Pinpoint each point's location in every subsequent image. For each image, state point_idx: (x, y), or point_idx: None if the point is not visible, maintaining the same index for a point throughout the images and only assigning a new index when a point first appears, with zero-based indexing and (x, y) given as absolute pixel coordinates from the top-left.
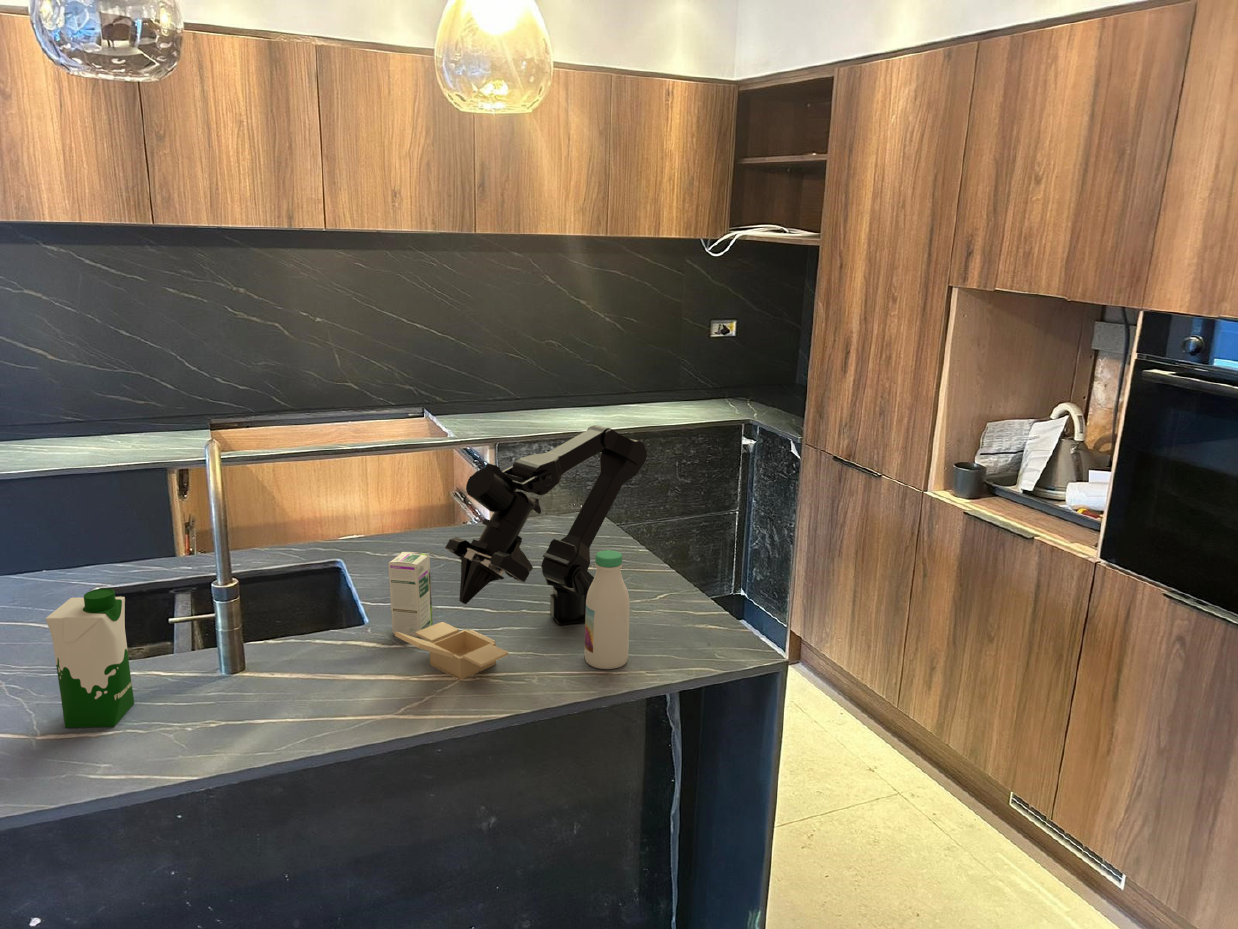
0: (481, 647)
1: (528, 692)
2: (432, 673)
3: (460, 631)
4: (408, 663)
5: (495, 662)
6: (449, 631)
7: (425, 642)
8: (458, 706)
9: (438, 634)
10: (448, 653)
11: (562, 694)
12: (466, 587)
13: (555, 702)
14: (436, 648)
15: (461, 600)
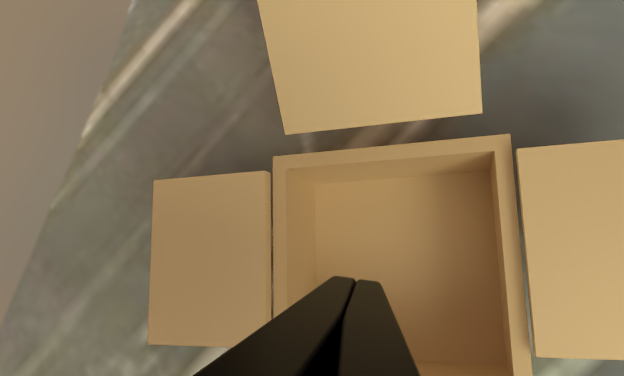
0: (263, 287)
1: (95, 295)
2: (431, 129)
3: (530, 362)
4: (588, 98)
5: None
6: (549, 293)
7: (381, 9)
8: (188, 77)
9: (560, 220)
10: (279, 96)
11: (19, 363)
12: (254, 345)
13: (9, 310)
14: (262, 6)
15: (336, 277)
